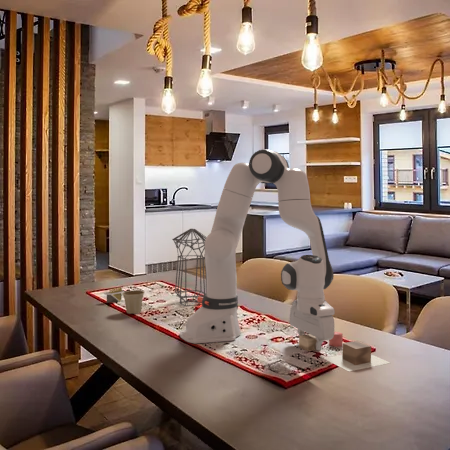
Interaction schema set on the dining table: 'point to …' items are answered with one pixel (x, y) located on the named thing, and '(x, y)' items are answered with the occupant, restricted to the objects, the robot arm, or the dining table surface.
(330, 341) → the red capsule
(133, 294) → the flower pot
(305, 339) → the beech cube
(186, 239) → the geometric lantern
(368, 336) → the dining table surface
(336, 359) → the board
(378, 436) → the dining table surface
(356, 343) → the walnut base
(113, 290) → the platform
